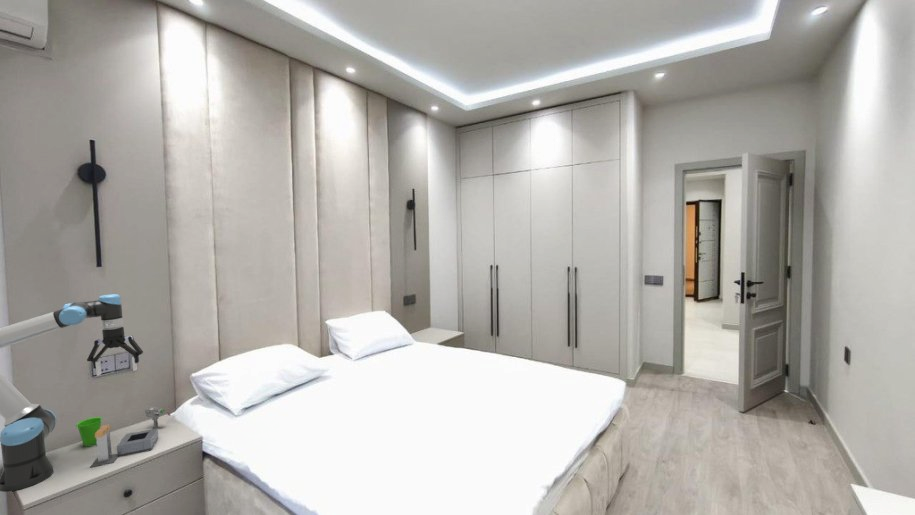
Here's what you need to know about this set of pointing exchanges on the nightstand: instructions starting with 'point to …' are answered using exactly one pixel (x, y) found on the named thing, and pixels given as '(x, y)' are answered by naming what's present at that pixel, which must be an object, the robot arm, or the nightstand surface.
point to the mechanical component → (154, 414)
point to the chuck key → (103, 443)
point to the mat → (112, 460)
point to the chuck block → (137, 442)
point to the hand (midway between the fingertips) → (117, 372)
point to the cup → (89, 430)
